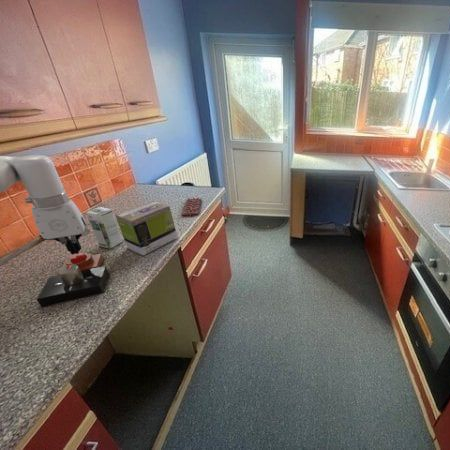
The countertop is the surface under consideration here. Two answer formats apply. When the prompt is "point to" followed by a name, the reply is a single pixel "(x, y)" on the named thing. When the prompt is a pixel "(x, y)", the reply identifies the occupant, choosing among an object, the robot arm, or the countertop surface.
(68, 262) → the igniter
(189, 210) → the chocolate bar
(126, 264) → the countertop surface
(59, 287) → the panel
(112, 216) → the syrup box
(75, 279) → the hob knob
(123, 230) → the tea box
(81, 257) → the button
